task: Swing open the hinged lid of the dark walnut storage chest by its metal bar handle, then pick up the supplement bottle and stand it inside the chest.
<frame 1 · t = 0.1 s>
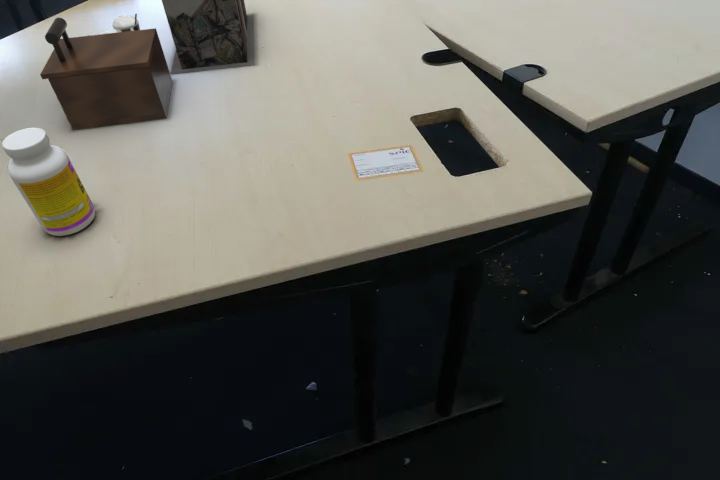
supplement bottle: (71, 221, 70), on the table
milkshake: (142, 66, 103), on the table
lid: (97, 38, 84), point 12 cm above the table, hinge at 0.0°
chest: (125, 104, 92), on the table
bookend: (215, 42, 109), on the table
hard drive: (97, 50, 109), on the table
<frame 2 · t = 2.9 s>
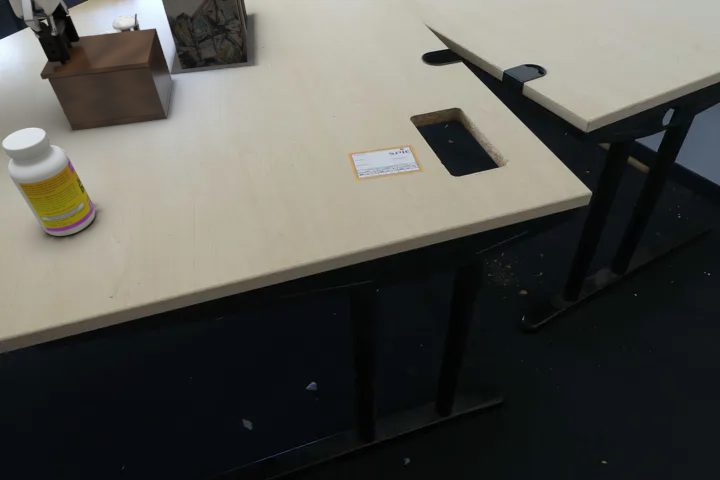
hand: (64, 49, 84), 10 cm above the table, tool pointing down, fingers closed on lid, 6 cm apart
lid: (97, 38, 84), point 12 cm above the table, hinge at 0.0°, touching gripper
everything else where it was.
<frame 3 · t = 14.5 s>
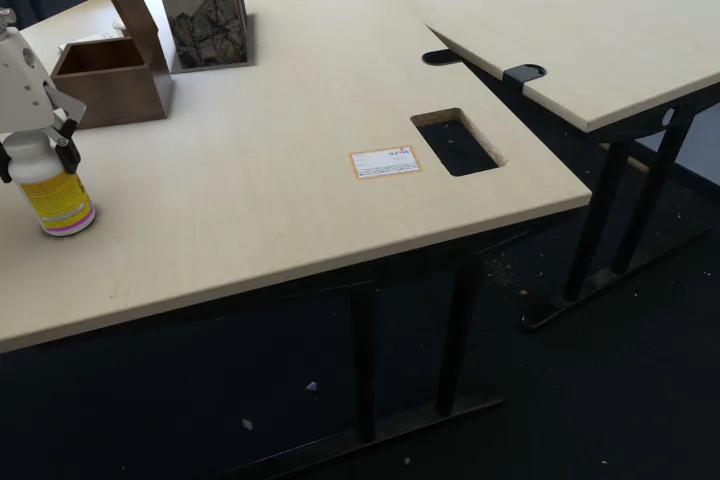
hand: (42, 171, 65), 8 cm above the table, tool pointing down, fingers closed on supplement bottle, 6 cm apart
supplement bottle: (71, 221, 70), on the table, touching gripper
when the fingers open (9 cm above the table, at t = 22.8 s): supplement bottle stays where it is, resting on chest.
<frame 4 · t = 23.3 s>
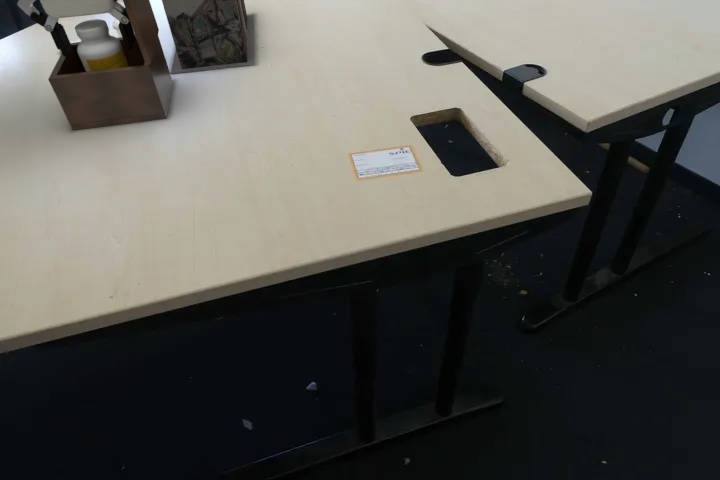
hand: (99, 49, 85), 10 cm above the table, tool pointing down, fingers open, 9 cm apart
supplement bottle: (120, 100, 91), point 1 cm above the table, touching chest
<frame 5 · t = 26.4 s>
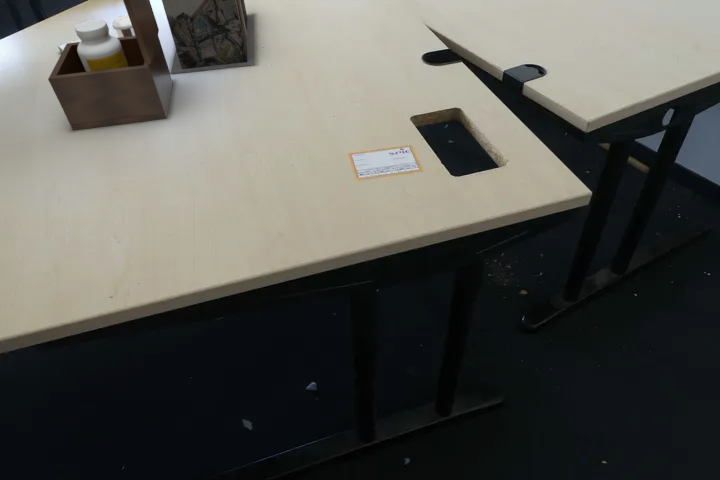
at the end: lid at +90° (first picture: +0°); supplement bottle inside the target area in the chest (0.6 cm from its centre), point 0.8 cm above the chest's base; supplement bottle tilted 0° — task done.
